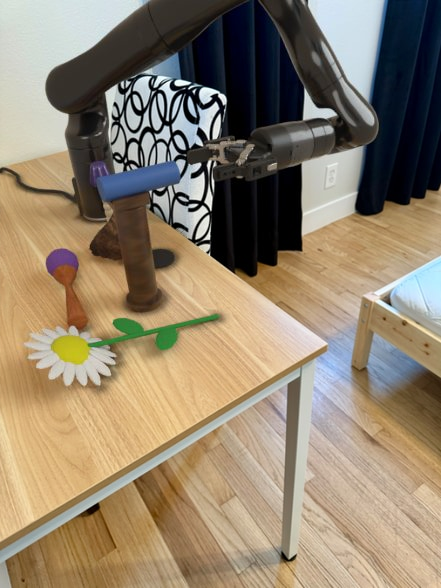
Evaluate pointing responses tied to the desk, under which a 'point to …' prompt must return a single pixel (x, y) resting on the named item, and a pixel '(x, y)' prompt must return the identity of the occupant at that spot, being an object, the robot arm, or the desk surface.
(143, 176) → the tube
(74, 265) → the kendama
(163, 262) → the coaster
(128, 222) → the post
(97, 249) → the decorative rock
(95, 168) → the toy lamp
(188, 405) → the desk surface
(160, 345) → the decorative flower
